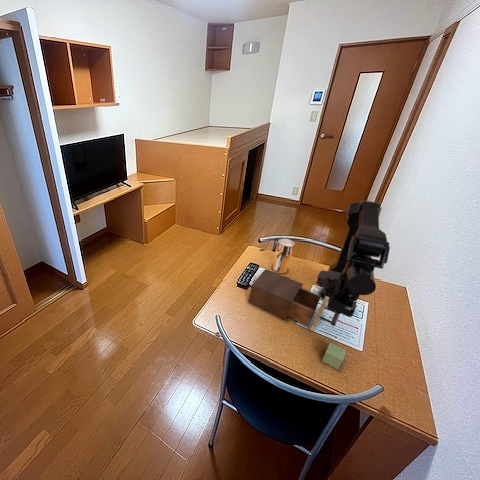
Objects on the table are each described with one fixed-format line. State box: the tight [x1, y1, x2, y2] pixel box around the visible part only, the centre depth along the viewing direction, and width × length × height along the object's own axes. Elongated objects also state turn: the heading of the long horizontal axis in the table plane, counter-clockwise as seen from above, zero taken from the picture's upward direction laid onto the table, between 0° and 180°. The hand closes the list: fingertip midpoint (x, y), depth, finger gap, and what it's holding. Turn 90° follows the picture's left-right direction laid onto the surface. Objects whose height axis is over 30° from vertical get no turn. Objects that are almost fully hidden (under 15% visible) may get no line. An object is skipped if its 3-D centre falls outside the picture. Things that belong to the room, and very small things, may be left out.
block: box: [321, 342, 347, 370], centre depth 81 cm, size 4×4×4 cm
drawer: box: [287, 287, 341, 332], centre depth 94 cm, size 18×11×8 cm, turn 48°
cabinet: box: [248, 268, 304, 321], centre depth 102 cm, size 15×13×10 cm
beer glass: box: [272, 238, 296, 274], centre depth 118 cm, size 7×7×15 cm
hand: (338, 312), depth 82 cm, fingers closed
